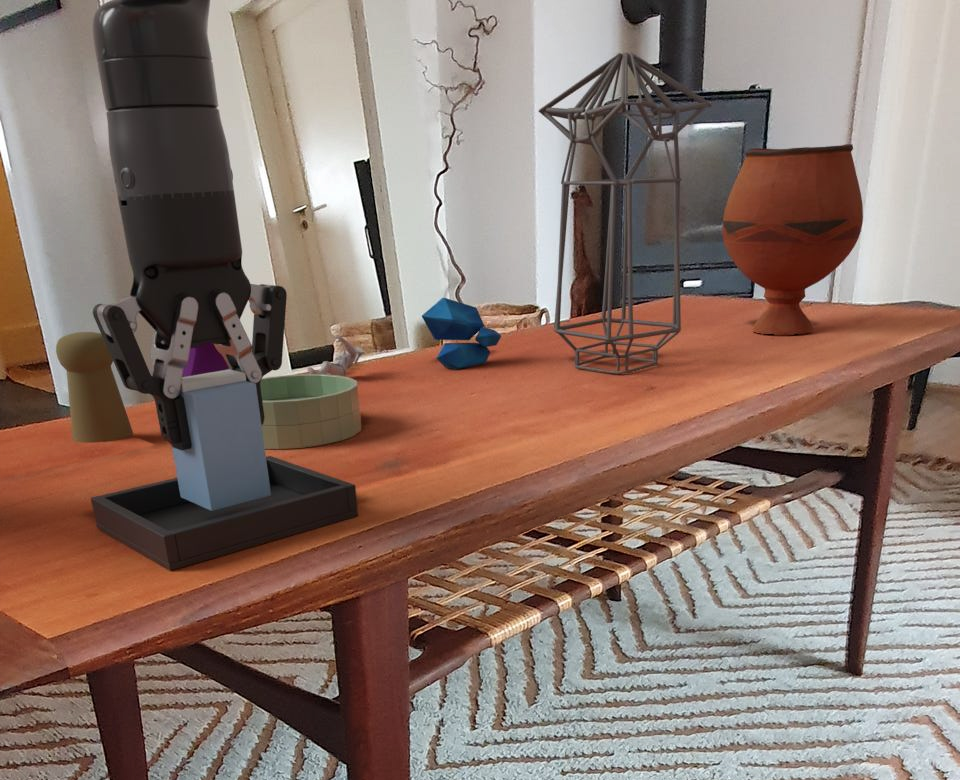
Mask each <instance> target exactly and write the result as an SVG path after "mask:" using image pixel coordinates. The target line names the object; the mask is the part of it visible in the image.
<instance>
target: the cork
mask: <svg viewBox="0 0 960 780" xmlns="http://www.w3.org/2000/svg"><path fill="white" fill-rule="evenodd" d="M55 347H56V348H55V353H56V357H57V360H58V362H59V364H60V365H61V367H62V368H64V370H65V371H66V378H67V379H66V380H67V391H68V403H69V413H70V415H69V416H70V426H71V437H72V438H71V439H72V440H73V441H75V442H77V443H86V444H87V443H89V444H90V443H104V442H110V441H111V442H112V441H116V440H120V439H124V438H127V437H129V436H131V437H135V435H134V431H133V428H132V424H131V423H130V422H131V421H130V419H129V416H128V413H127V411H126V407H125V404H124V401H123V398H122V395H121V392H120V389H119V386H118V383H117V381H116V378H115V374H114V372H113V369H112V365H113V363H114V362H113V359H112V357H111V355H110V352H109V350H108V348H107V346H106V343H105V341H104V339H103V337H102V334H101V332H95V331H78V332H73V333H69V334H66V335H63V336H62V337H60V338H59V339H58V340H57V343H56V344H55Z"/></svg>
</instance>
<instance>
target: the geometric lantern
mask: <svg viewBox="0 0 960 780" xmlns="http://www.w3.org/2000/svg"><path fill="white" fill-rule="evenodd" d="M628 67H629V69H630V71H631V73H632V75H633V77H634V79H635V85H636V90H637V94H638V95H637V96H638V98H637V99H636V101H628V89H629V88H628V83H629V82H628V80H629V79H628V75H629V72H628V71H629V69H628ZM620 71H621V81H620V82H621V83H620V84H621V86H620V87H621V88H620V100H619V101H615V96H616V91H617V88H618V87H617V86H618V82H619V77H620ZM646 72H648V73H649V74H651V75H652V76H654V77H656V78H657V79H659V80H661V81H662V82H664V83H666V84H668V85H669V86H671V87H672V88H674V89H676V90H677V91H679V92H681V93H682V94H684V95H685V96H687V97H689V98H691V99H692V100H693V101H695V102H697V103H692V104H688V105H683V106H679V107H677V106H676V105H675V104H674V102H673V101H672V100H671V99H670V98H669V97H668V95H667V94H666V93H665V92H663V90H662V89H661V88H660V87H659V85H657V83H655V82H654V80H653V79H652V78H651V77H650V76H649V74H647V73H646ZM597 77H598V78H597ZM595 78H597V79H596V80H595V81H594V79H595ZM614 78H615V80H614ZM592 81H594V82H593V84H591V86H590V87H589V88H588V90H587V91H586V92H585V94H583V96H582V97H581V98H580V100H578V103H576V105H575V106H574V107H568V108H563V107H555V106H556V105H557V104H559V103H560V102H562V101H563V100H564V99H566V98H568V97H569V96H570V95H572V94H573V93H575V92H576V91H578V90H580V89H581V88H582V87H584V86H586V85H587V84H589V83H590V82H592ZM613 81H614V86H613V91H612V96H611V101H610V103H609V104H605V105H603V103H604V101H605V98H606V96H607V94H608V92H609V90H610V88H611V85H612V83H613ZM645 83H646V84H645ZM646 85H647V86H648V87H649V89H651V91H652V92H653V93H654V94H655V96H656V97H657V98H658V99H659V101H660V102H661V103H662V104H663V105H664V106H657V104H656V102H655V100H654V99H653V97H652V95H651V94H650V92H649V90H648V88H647V86H646ZM642 95H643V97H644V98H645V99H643V97H642ZM595 105H596V106H595ZM626 106H636V107H637V108H638V110H639V111H638V110H630V109H627V107H626ZM712 106H713V103H711V102H710V101H708V100H706V99H705V98H703V97H702V96H700V95H699V94H697V93H696V92H694V91H692V90H691V89H689V88H688V87H686V86H685V85H683V84H682V83H680V82H678V81H677V80H675V79H674V78H673V77H672V76H670V75H667V74H666V73H664V72H663V71H661V70H660V69H658V68H657V67H656V66H654V65H652V64H650V63H649V62H647V61H646V60H645V59H643V58H641V57H640V56H638V55H637V54H636V53H633V52H630V53H629V52H622V53H621V52H618V53H617V54H616V55H615V56H613V57H611V58H610V59H609V60H607V61H606V62H604V63H603V64H602V65H600V66H599V67H598V68H596V69H594V70H593V71H591V72H590V73H588V74H587V75H586V76H585V77H582V79H581V80H579V81H578V82H575V83H574V84H573V85H572V86H571V87H569V88H568V89H566V90H564V91H563V92H562V93H561V94H559V95H558V96H556V97H555V98H553V99H551V101H549V102H548V103H546V104H545V105H543V106H542V107H541V108H539V109H538V113H540V114H541V115H542V116H543V117H545V119H547V120H548V121H549V122H550V123H551V124H552V125H553V126H555V128H557V129H558V130H559V132H561V133H562V134H563V135H564V136H565V137H566V138H567V139H568V140H569V141H570V142H569V146H568V150H567V153H566V159H565V164H564V168H563V172H562V176H561V181H560V184H561V196H560V197H561V200H560V201H561V202H560V218H559V219H560V220H559V221H560V224H559V245H558V265H557V285H556V298H555V311H554V325H553V331H554V333H556V334H558V336H560V337H561V338H562V340H563V341H564V342H565V343H566V344H567V345H568V346H569V347H570V348H571V349H572V350H573V351H574V364H573V367H574V368H576V369H577V368H579V369H578V370H585V369H586V370H585V371H591V370H593V371H592V372H597V371H600V372H599V373H604V372H608V373H607V374H610V373H615V374H614V375H617V374H622V373H628V374H631V373H634V372H638V371H641V370H645V369H647V368H650V367H654V366H658V365H659V360H658V359H659V350H660V349H661V348H662V347H664V346H665V345H667V343H669V342H670V341H671V340H673V338H675V337H676V336H677V335H679V333H680V332H681V331H682V322H681V321H682V320H681V318H682V316H681V315H682V314H681V312H682V311H681V269H680V267H681V264H680V261H681V260H680V202H681V201H680V199H681V196H680V195H681V181H682V178H681V170H680V169H681V168H680V153H679V151H680V150H679V133H680V132H682V130H683V129H684V128H685V127H687V125H689V124H690V123H691V122H692V121H693V120H695V119H696V118H697V117H698V116H699V115H700V114H701V113H702V112H704V111H705V110H706V109H707V108H708V109H709V108H711V107H712ZM645 108H648V109H649V112H648V111H646V109H645ZM689 111H693V112H692V113H691V114H689V115H688V117H686V119H684V120H683V121H682V122H681V123H680V113H684V112H689ZM583 113H584V114H583ZM662 113H663V114H662ZM616 115H623V117H625V118H626V119H627V120H628V121H630V122H631V123H632V124H633V125H634V126H635V127H636V128H637V129H638V130H640V131H641V133H643V135H645V136H646V137H647V138H648V140H647V141H646V143H645V144H644V146H643V147H642V149H641V151H640V153H639V154H638V156H637V157H636V159H635V160H634V162H633V164H632V166H631V167H630V169H629V170H628V172H627V174H626V175H625V176H624V178H619V179H617V177H616V175H615V173H614V172H613V169H612V168H611V166H610V164H609V162H608V160H607V158H606V156H605V154H604V153H603V150H602V149H601V146H600V144H599V142H598V140H597V139H598V137H599V135H601V133H602V131H603V129H604V128H605V127H606V125H607V124H608V123H609V122H610V121H611V119H613V117H615V116H616ZM604 116H605V117H604ZM555 117H556V118H560V119H564V120H565V119H566V120H568V128H569V129H568V128H566V127H565V126H564V125H563V124H562V123H560V121H558V120H557V119H555ZM601 117H604V118H603V120H602V121H600V123H598V124H597V126H596V127H595V126H594V124H595V121H596V119H597V118H601ZM635 117H642V118H643V120H644V122H645V124H646V126H647V128H648V129H647V128H646V127H645V126H644V125H642V124H641V123H640V122H639V121H638V120H637V119H636V118H635ZM650 118H651V119H654V120H655V121H656V126H655V127H654V125H653V122H652V120H651V119H650ZM668 119H669V120H670V119H673V125H672V131H670V132H665V133H663V130H662V129H663V128H662V127H663V125H662V123H663V122H662V121H663V120H668ZM578 120H584V124H585V131H586V135H582V136H578V137H577V121H578ZM589 120H590V123H589ZM679 123H680V124H679ZM594 127H595V128H594ZM654 141H657V142H663V143H664V144H663V145H664V147H665V152H666V156H667V162H668V167H669V169H670V174H671V177H661V178H659V177H658V178H633V176H634V175H635V173H636V172H637V170H638V168H639V166H640V164H641V162H642V161H643V159H644V157H645V156H646V154H647V153H648V150H649V149H650V147H651V145H652V143H653V142H654ZM670 141H673V153H674V167H673V164H672V159H671V155H670V151H669V146H668V143H669V142H670ZM577 144H583V145H588V146H591V148H592V149H593V151H594V153H595V155H596V156H597V158H598V161H600V163H601V165H602V166H603V169H604V170H605V172H606V173H607V175H608V177H609V178H608V179H607V178H606V179H590V180H571V178H572V177H571V176H572V171H573V166H574V159H575V154H576V149H577ZM674 169H675V172H674ZM565 178H566V179H565ZM662 183H664V184H665V183H666V184H667V183H673V213H674V214H673V219H674V220H673V221H674V223H673V225H674V239H673V240H674V241H673V242H674V245H673V290H672V291H673V293H672V294H673V296H672V297H673V299H672V322H663V321H653V320H642V319H634V297H633V296H634V290H633V289H634V288H633V287H634V285H633V284H634V283H633V282H634V281H633V277H634V276H633V275H634V274H633V185H635V184H636V185H637V184H662ZM602 185H603V186H610V197H609V198H610V199H609V212H608V213H609V214H608V223H607V224H608V227H607V241H606V254H605V268H604V269H605V270H604V283H603V294H602V295H603V296H602V297H603V298H602V309H601V318H597V319H591V320H587V321H581V322H576V323H569V324H565V325H561V312H562V311H561V310H562V291H563V290H562V289H563V288H562V287H563V273H564V261H565V251H566V249H565V248H566V239H567V237H566V236H567V226H568V225H567V224H568V213H569V199H570V187H571V186H602ZM617 186H625V187H624V209H623V211H624V212H623V247H622V248H623V250H622V251H623V252H622V253H623V254H622V288H621V289H622V291H621V292H622V293H621V318H613V317H612V316H613V293H614V292H613V290H614V265H615V264H614V263H615V235H616V212H617V210H616V209H617V208H616V207H617ZM627 309H628V311H627ZM626 312H627V313H626ZM626 314H628V315H627V317H628V318H626ZM614 323H615V324H619V326H618V329H617V331H616V335H615V336H612V324H614ZM597 324H602V326H603V327H602V328H603V332H604V335H600V334H594V333H588V332H580V331H574V330H570V329H576V328H581V327H586V326H591V325H597ZM624 324H628V334H624V335H623V334H622V335H620V333H621V332H622V328H623V327H624ZM634 325H642V326H651V327H660V328H661V327H662V328H666V329H660V330H653V331H647V332H640V333H634ZM670 334H671V335H670ZM661 335H663V336H662V337H661V339H659V340H658V342H657V343H656V344H647V343H636V342H633V341H634V340H637V339H643V338H650V337H655V336H661ZM669 335H670V336H669ZM567 336H572V337H580V338H586V339H593V340H598V341H601V342H597V343H593V344H588V345H584V346H581V347H576V346H575V344H573V343H572V341H570V339H569V338H568V337H567ZM626 340H629V341H628V342H624V341H626ZM609 345H611V348H612V353H609V352H608V349H609ZM599 346H604V352H603V351H596V350H589V349H591V348H595V347H599ZM617 346H627V347H626V350H625V352H624V354H620V353H619V351H618V349H617ZM631 347H637V348H638V347H640V348H647V349H642V350H637V351H632V352H630V350H631ZM651 352H652V358H644V357H637V356H636V355H640V354H641V355H642V354H646V353H651ZM580 353H584V354H590V355H597V357H594V358H590V359H587V360H583V361H580ZM609 358H611V359H612V358H615V359H616V370H609V369H604V368H596V367H591V366H584V365H586V364H589V363H592V362H595V361H600V360H603V359H609ZM620 359H625V360H624V361H625V362H624V370H622V371H620V370H621V368H620V367H621V366H620V365H621V361H620ZM629 360H634V361H639V362H647V363H648V364H644V365H641V366H637V367H635V368H634V367H633V368H631V369H629ZM640 369H641V370H640ZM637 370H638V371H637ZM633 371H634V372H633ZM630 372H631V373H630ZM622 375H623V374H622Z"/></svg>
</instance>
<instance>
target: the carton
mask: <svg viewBox="0 0 960 780" xmlns="http://www.w3.org/2000/svg"><path fill="white" fill-rule="evenodd" d="M179 397H182V398H184V403H185V409H186V414H187V420H188V426H189V432H190V438H191V444H192V447H191V449H186V450H182V451H181V450H179V449H176V448H173V447H172V446H171V451H172V457H173V462H174V469H175V473H176V474H175V475H176V478H177V479H178V485H179V490H180V496H181V498H184V499H186V500H188V501H190V502H193V503H195V504H197V505H199V506H202V507H204V508H206V509H208V510H211V511H214V510H218V509H222V508H225V507H229V506H233V505H237V504H241V503H244V502H248V501H252V500H256V499H259V498H263V497H267V496H271V490H270V483H269V476H268V469H267V462H266V457H267V455H266V454H267V453H266V449H265V447H264V440H263V433H262V425H261V418H260V411H259V404H258V397H257V389H256V384H255V383H251V382H247V381H246V374H245V373H243V372H239V371H234V370H230V369H228V370H222V371H217V372H211V373H205V374H199V375H193V376H187V377H182V381H181V387H180V393H179Z"/></svg>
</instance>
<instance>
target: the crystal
mask: <svg viewBox="0 0 960 780" xmlns="http://www.w3.org/2000/svg"><path fill="white" fill-rule="evenodd" d="M421 318H422V320H423V321H424V324H425V325H426V327H427V329H428V331H429V332H430V335H431V336H432V338H433V340H436V341H470V340H472V338H473V337H475V341H476V342H445V343H444V344H443V345H442V348H441V349H440V351H439V352H438V355H437V356H436V359H437V361H438V362H439V363H440V364H441V365H442V366H443V367H444V368H446V367H447V368H446V369H451V368H452V369H453V370H462V369H461V368H463V369H467V368H471V367H470V366H472V367H475V366H474V365H476V366H479V365H478V364H481V365H483V364H482V363H485V364H486V363H487V361H488V359H489V356H490V354H491V351H490V349H489V348H488V347H494V346H495V347H496V346H497V345H498V343H499V342H500V340H501V338H502V335H501V334H500V333H499V332H498V331H496V330H495V329H492V328H489V327H485V324H484V322H483V319H482V317H481V314H480V313H479V310H478V308H477V307H476V306H472V305H470V304H466V303H464V302H459V301H456V300H453V299H450V298H447V297H441V298H440V299H439V300H438V301H437V302H436V303H434V305H432V306H430V308H428V310H427V311H425V312H424V313H423V314H422V315H421ZM475 335H476V336H475ZM466 367H467V368H466ZM452 369H451V370H452Z"/></svg>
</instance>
